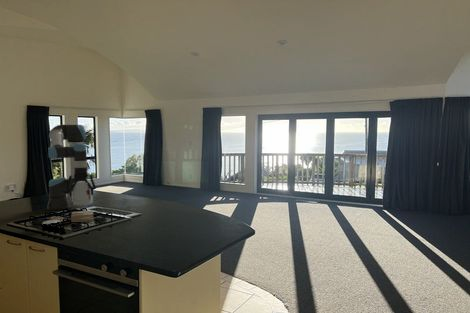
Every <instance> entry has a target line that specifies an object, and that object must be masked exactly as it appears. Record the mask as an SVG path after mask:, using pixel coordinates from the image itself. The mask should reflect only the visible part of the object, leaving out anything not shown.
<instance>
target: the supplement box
mask: <svg viewBox="0 0 470 313" xmlns="http://www.w3.org/2000/svg"><path fill="white" fill-rule="evenodd" d="M88 182H89V184H90V185H91V186H92V187H93V185H92V182H91V180H88ZM73 184H74V183H73ZM90 190H91V189H90V188H89V186H88V183H87V182H85V181H79V182H77V183H76V185H75V186H74V188H73V200H74V201H73V206H88V205H90V204H93V203H94V201H93V200H94V198H93V195H94V194H93V195H92V200H90Z"/></svg>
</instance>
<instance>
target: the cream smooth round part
mask: <svg viewBox="0 0 470 313" xmlns="http://www.w3.org/2000/svg"><path fill="white" fill-rule="evenodd" d="M57 222H60V223H61V220H60V219H48V220H45V221H42V225H43V224H50V223H57Z"/></svg>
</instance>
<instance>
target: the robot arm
mask: <svg viewBox="0 0 470 313" xmlns="http://www.w3.org/2000/svg"><path fill="white" fill-rule="evenodd" d="M48 136H49V139H50V146H49V147H48V148H47V149H48V158H49V159H68V158H69V161H70V162H69V163H70V164H69V165H70V174H69V176H68V178H66V177H65V176H64V177H58V178H53V179H50V180H49V181H48V195H49V198H48V199H49V200H48V203H47V206H46V209H47V210H48V211H59V210H60V211H61V210H66V209H69V208H70V202H69V201H68V198H67V195H69V197H71V202H74V200H73V188H74V186H75V185H76V183H77V182H79V181H85V182H87V183H88V186H89V188H90V189H91V190H90V200H92V195H94V191H95V190H96V189H97V186H96V184H95V182H94V178H93V174H88V167H87V166H88V160H87V144H86V143H84V142H85V140H86V139H87V136H86V131H85V127H84V125H82V124H58V125H55V126H54V127H52V128H51V129H50V131H49V133H48ZM64 141H66V142H67V144H69V146H64ZM88 179H90V180H88ZM88 181H91V182H92V186H91V185H90V184H89V182H88ZM73 183H74V184H73Z"/></svg>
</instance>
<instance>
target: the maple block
mask: <svg viewBox="0 0 470 313" xmlns="http://www.w3.org/2000/svg"><path fill="white" fill-rule="evenodd" d="M70 219H71V222H81V223H88V222H94V210H91V209H90V210H81V211H80V210H79V211H72V212H71V216H70Z"/></svg>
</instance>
